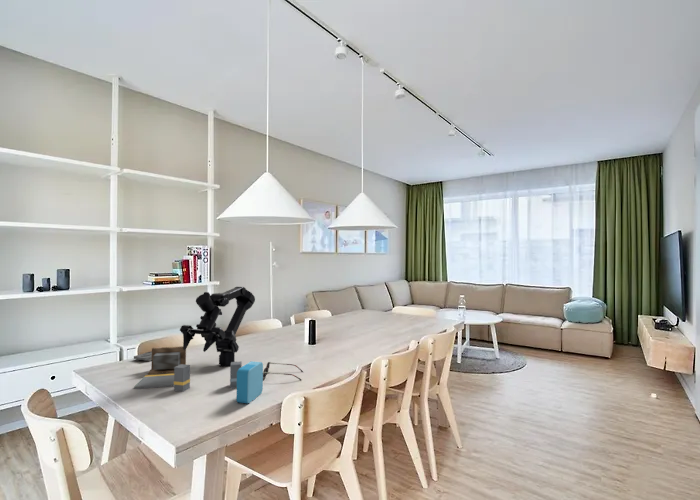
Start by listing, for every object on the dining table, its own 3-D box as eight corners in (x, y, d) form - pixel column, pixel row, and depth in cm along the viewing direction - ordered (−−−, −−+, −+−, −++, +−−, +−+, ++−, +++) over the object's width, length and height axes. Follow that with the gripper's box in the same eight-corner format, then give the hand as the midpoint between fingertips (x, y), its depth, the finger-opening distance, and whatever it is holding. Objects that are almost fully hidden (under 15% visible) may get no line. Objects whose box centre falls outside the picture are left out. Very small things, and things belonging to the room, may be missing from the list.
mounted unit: (186, 367, 170) (186, 345, 170) (182, 372, 163) (183, 349, 163) (152, 369, 167) (153, 347, 167) (147, 374, 160) (148, 351, 160)
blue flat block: (251, 391, 141) (252, 360, 142) (262, 392, 140) (263, 361, 141) (236, 403, 130) (236, 369, 130) (247, 405, 129) (248, 370, 129)
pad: (181, 375, 159) (181, 373, 159) (173, 386, 146) (173, 384, 146) (145, 377, 156) (145, 375, 156) (134, 388, 143) (134, 386, 143)
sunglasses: (267, 372, 166) (268, 361, 166) (303, 374, 167) (304, 363, 167) (262, 382, 152) (263, 370, 152) (301, 384, 153) (302, 372, 153)
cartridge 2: (241, 383, 150) (241, 361, 150) (240, 387, 146) (241, 364, 146) (230, 384, 149) (231, 362, 149) (230, 387, 145) (230, 365, 145)
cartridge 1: (180, 387, 145) (181, 364, 145) (190, 387, 144) (190, 364, 145) (173, 390, 141) (174, 367, 141) (183, 391, 140) (183, 368, 141)
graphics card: (158, 346, 196) (174, 348, 191) (158, 353, 196) (175, 355, 191) (128, 354, 181) (145, 356, 176) (128, 362, 181) (145, 364, 176)
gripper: (235, 329, 165) (222, 361, 154) (198, 326, 169) (183, 358, 158) (226, 315, 157) (211, 348, 146) (187, 312, 161) (170, 345, 150)
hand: (193, 350), depth 151 cm, fingers open, 9 cm apart
